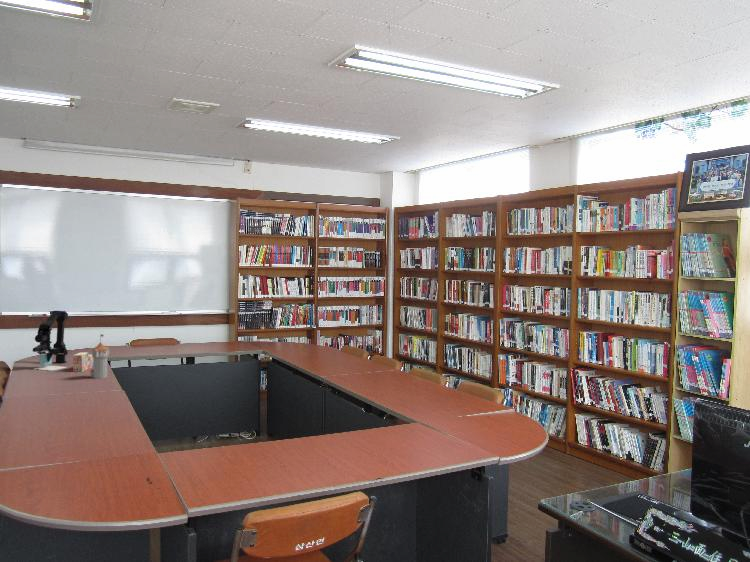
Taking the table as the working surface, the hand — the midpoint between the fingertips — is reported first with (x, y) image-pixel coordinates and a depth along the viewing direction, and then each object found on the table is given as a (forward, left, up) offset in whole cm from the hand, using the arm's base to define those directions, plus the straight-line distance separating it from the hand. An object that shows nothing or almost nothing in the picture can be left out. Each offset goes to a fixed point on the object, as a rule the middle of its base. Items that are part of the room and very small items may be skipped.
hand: (45, 361), depth 438 cm
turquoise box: (0, 0, -2) cm, 2 cm away
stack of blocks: (-6, +27, -5) cm, 29 cm away
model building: (+14, +58, -5) cm, 60 cm away
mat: (0, +4, -5) cm, 6 cm away
